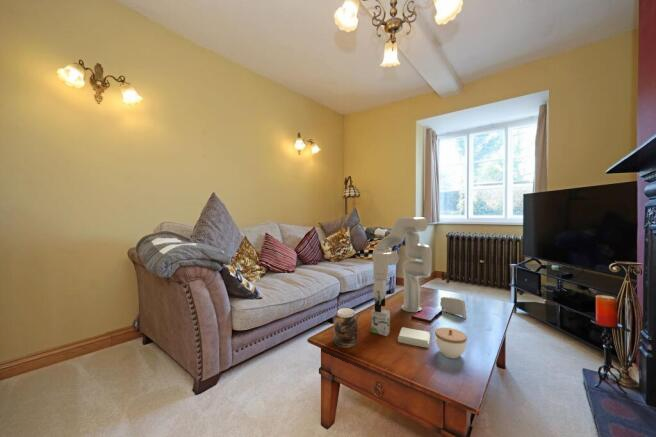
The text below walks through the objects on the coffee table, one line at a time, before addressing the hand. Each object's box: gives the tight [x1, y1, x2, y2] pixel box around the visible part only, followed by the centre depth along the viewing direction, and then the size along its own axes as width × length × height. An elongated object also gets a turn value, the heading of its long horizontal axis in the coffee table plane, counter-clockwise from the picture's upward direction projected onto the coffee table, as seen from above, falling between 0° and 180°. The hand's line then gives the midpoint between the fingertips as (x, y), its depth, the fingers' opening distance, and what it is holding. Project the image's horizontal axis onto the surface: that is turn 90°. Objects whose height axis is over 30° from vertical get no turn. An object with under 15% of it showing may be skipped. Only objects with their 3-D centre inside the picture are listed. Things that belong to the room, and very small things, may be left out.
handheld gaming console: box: [439, 296, 468, 320], centre depth 161 cm, size 11×3×15 cm
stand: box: [397, 326, 431, 349], centre depth 128 cm, size 11×14×3 cm
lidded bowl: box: [434, 327, 468, 359], centre depth 115 cm, size 13×13×11 cm
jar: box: [333, 307, 359, 349], centre depth 126 cm, size 12×12×15 cm
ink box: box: [370, 307, 391, 337], centre depth 136 cm, size 9×5×12 cm, turn 56°
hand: (380, 308), depth 136 cm, fingers open, 9 cm apart
